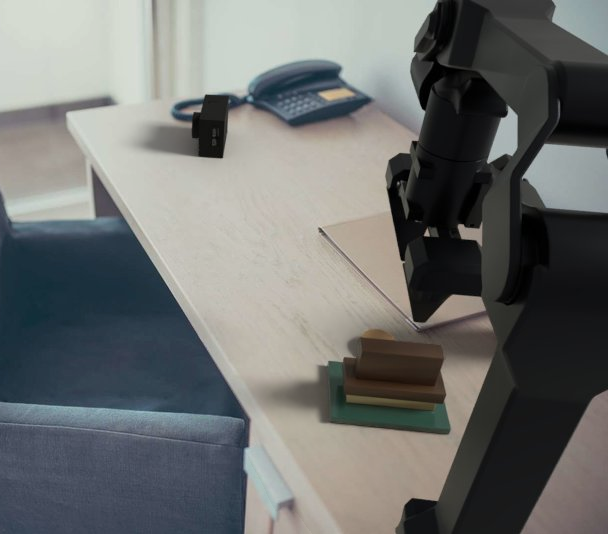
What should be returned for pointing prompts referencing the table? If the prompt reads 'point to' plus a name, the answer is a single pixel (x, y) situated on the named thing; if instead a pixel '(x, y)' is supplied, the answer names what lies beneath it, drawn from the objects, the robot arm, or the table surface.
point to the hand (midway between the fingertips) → (412, 289)
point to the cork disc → (377, 334)
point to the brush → (395, 374)
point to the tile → (381, 410)
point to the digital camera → (211, 126)
